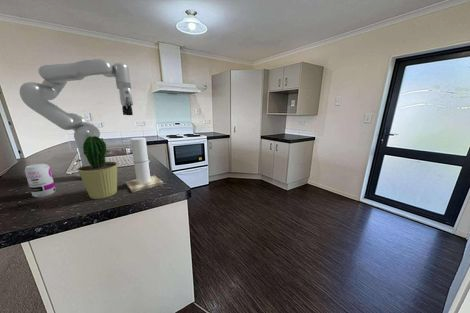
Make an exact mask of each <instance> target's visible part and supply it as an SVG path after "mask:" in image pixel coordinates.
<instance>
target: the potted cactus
mask: <svg viewBox="0 0 470 313" xmlns="http://www.w3.org/2000/svg"><path fill="white" fill-rule="evenodd" d="M85 139H86V138H85ZM84 141H85V140H84ZM82 149H83V151H84V152H83V153H84V155H86V157H87V160H88V162H89V164H88V165H84V166H82V165H81V166H80V167H78V168H77V171H78V173H79V174H80V176H79V177H80V178H81V180H82V183H83V185H84V187H85V189H86V191H87V192H86V193H87V194H88V197H89V198H91V200H93V199H94V200H99V199H106V198H108V197H111V196H113V195H115V194H117V193H118V162H116V161H107V160H106V155H107V153H106V152H108V151H109V150H107V142H106V141H104V139H103V138H100V137H97V136H93V137H92V136H90V137H88V138H87V139H86V141H85V142H84V144H83V148H82Z"/></svg>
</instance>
